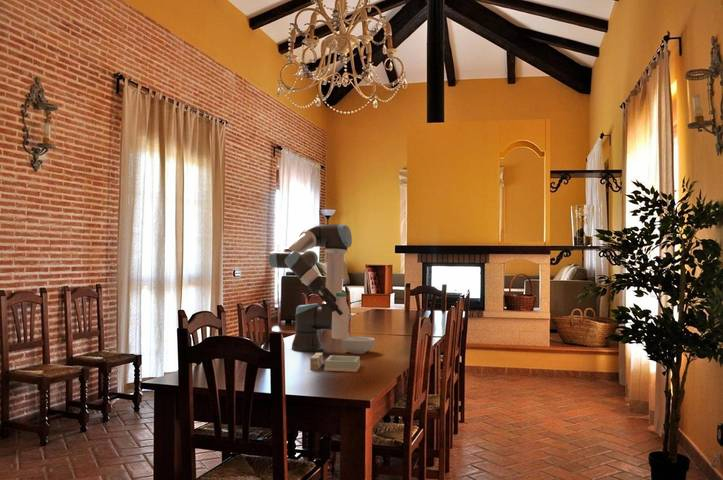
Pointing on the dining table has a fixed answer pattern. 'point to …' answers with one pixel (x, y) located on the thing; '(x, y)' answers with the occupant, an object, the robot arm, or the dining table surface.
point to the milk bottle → (338, 325)
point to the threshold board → (316, 361)
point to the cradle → (342, 363)
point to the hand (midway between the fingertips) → (348, 318)
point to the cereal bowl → (358, 344)
